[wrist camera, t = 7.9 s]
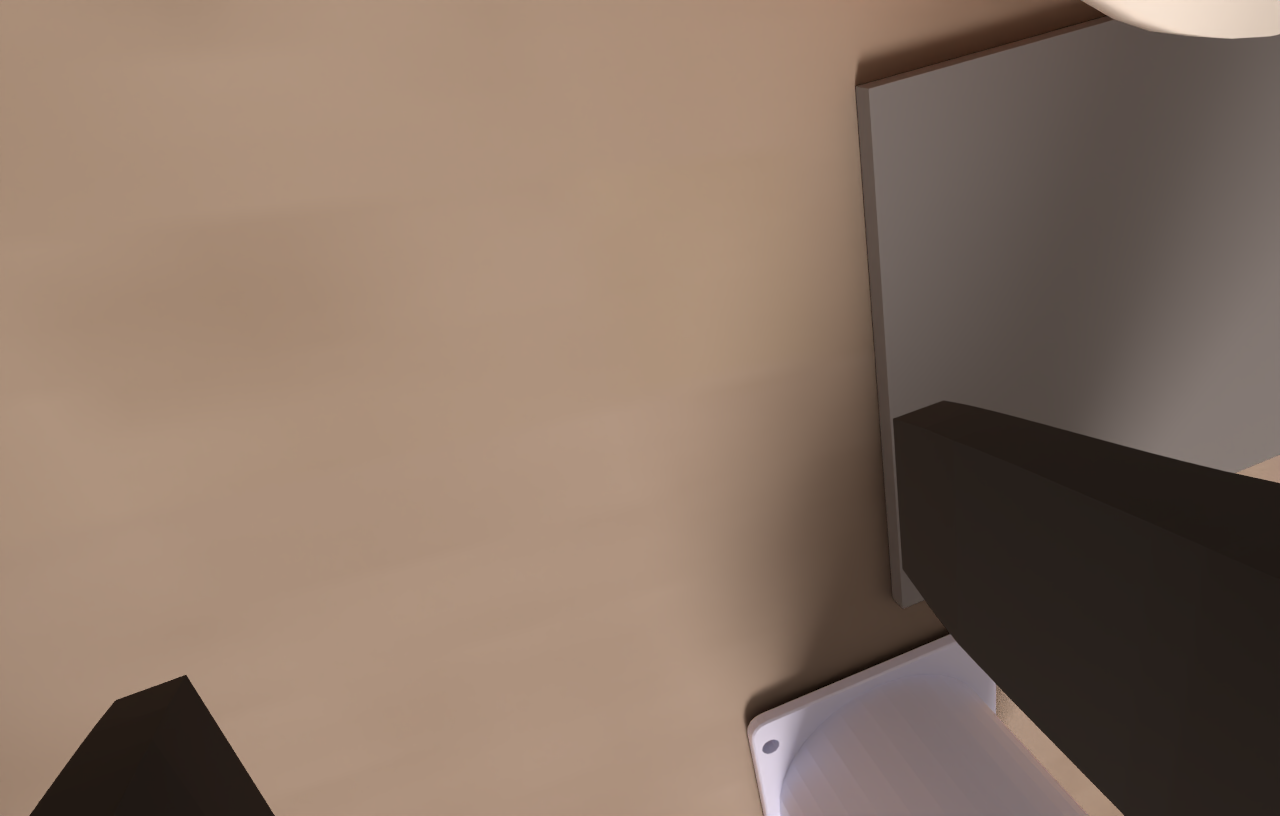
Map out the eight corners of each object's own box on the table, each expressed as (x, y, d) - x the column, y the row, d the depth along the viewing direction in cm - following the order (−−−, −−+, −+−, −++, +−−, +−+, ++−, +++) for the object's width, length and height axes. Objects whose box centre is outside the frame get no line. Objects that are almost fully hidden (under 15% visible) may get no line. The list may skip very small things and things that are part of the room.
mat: (1287, 438, 27) (1302, 445, 27) (892, 598, 25) (902, 608, 24) (1384, -62, 20) (1407, -63, 20) (855, 86, 18) (868, 88, 17)
